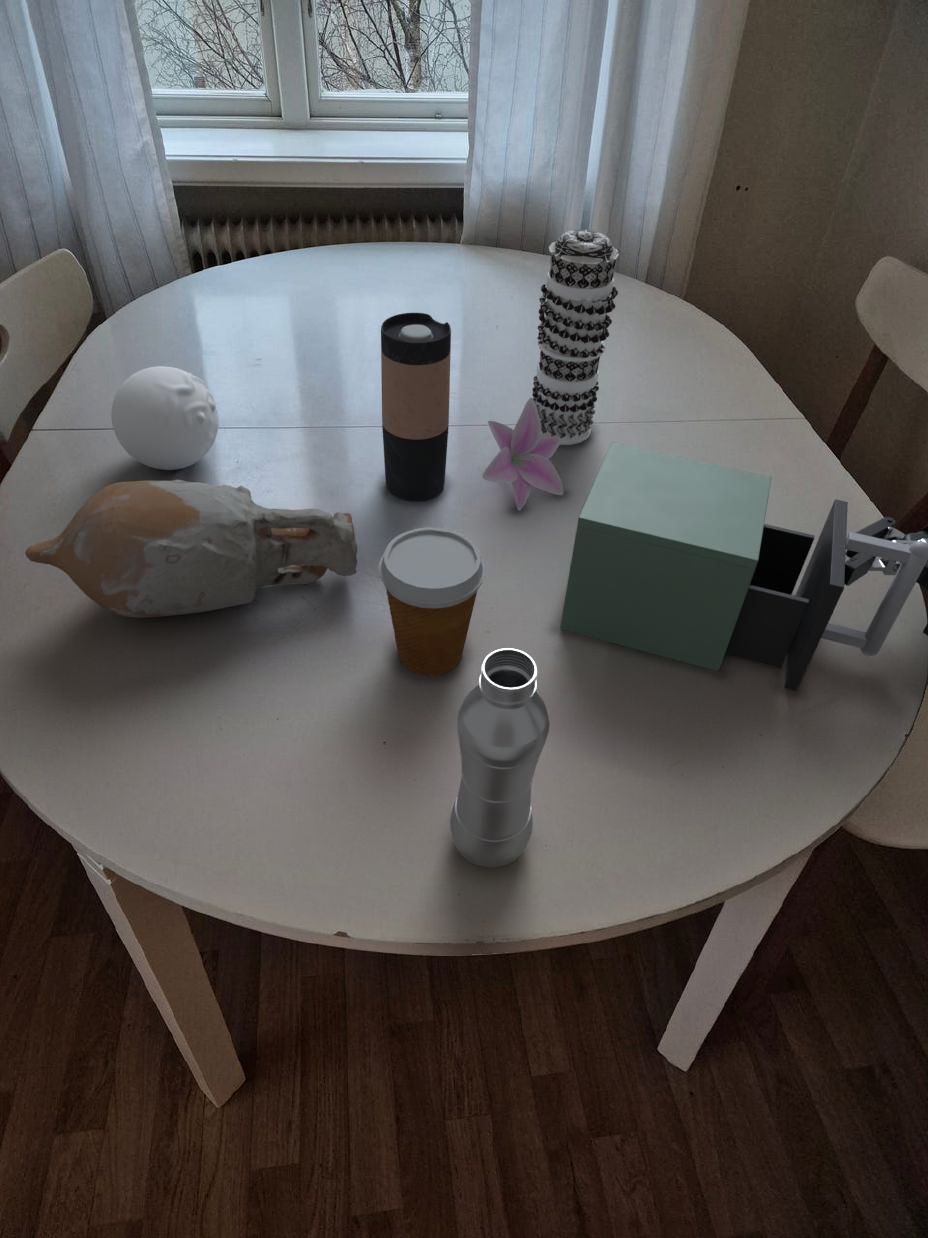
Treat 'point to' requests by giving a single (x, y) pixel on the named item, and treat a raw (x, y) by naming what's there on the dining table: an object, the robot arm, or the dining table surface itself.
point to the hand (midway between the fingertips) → (887, 601)
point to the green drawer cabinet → (665, 554)
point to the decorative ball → (165, 417)
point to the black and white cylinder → (573, 333)
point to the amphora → (192, 547)
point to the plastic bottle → (498, 760)
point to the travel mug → (415, 404)
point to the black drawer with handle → (815, 595)
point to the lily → (524, 456)
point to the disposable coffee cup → (431, 595)
